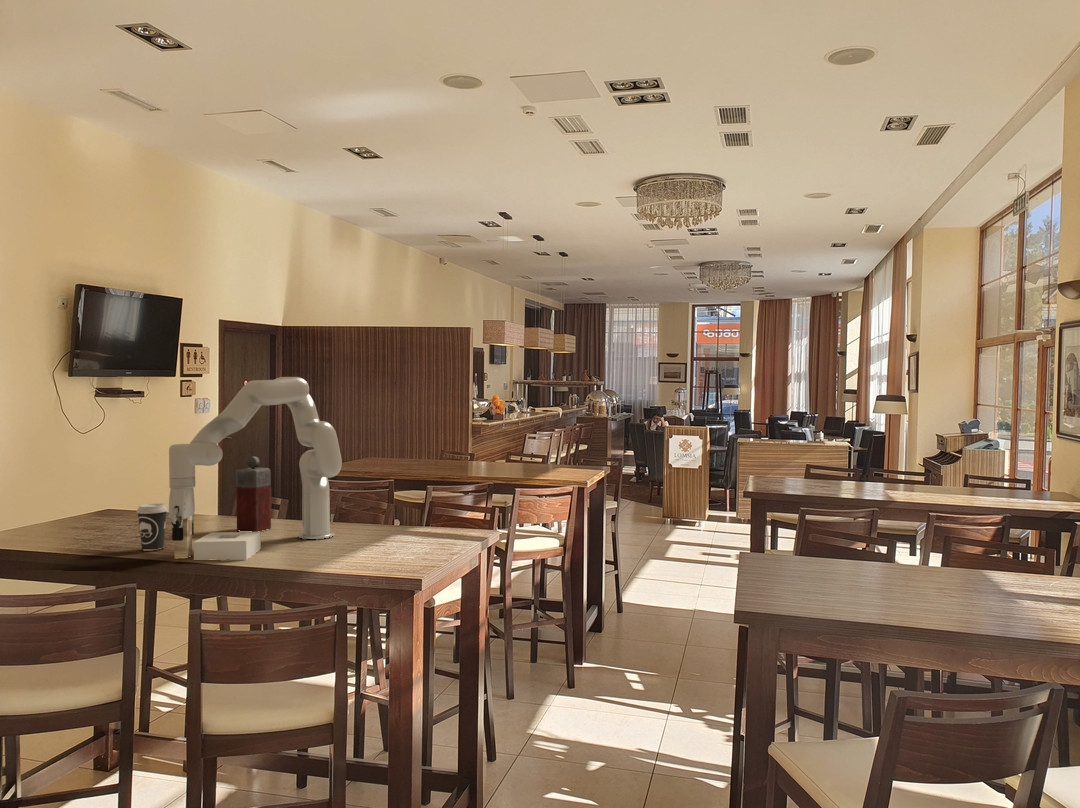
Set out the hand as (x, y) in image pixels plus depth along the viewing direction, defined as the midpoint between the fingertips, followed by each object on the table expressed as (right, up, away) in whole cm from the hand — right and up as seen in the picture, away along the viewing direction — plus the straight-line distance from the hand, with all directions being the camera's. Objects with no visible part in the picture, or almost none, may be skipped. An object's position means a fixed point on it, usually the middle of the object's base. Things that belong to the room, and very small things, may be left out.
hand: (183, 537), depth 250 cm
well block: (+13, -6, +4) cm, 15 cm away
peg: (0, -6, 0) cm, 6 cm away
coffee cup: (-16, -6, +13) cm, 22 cm away
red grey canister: (+5, -6, +50) cm, 50 cm away
